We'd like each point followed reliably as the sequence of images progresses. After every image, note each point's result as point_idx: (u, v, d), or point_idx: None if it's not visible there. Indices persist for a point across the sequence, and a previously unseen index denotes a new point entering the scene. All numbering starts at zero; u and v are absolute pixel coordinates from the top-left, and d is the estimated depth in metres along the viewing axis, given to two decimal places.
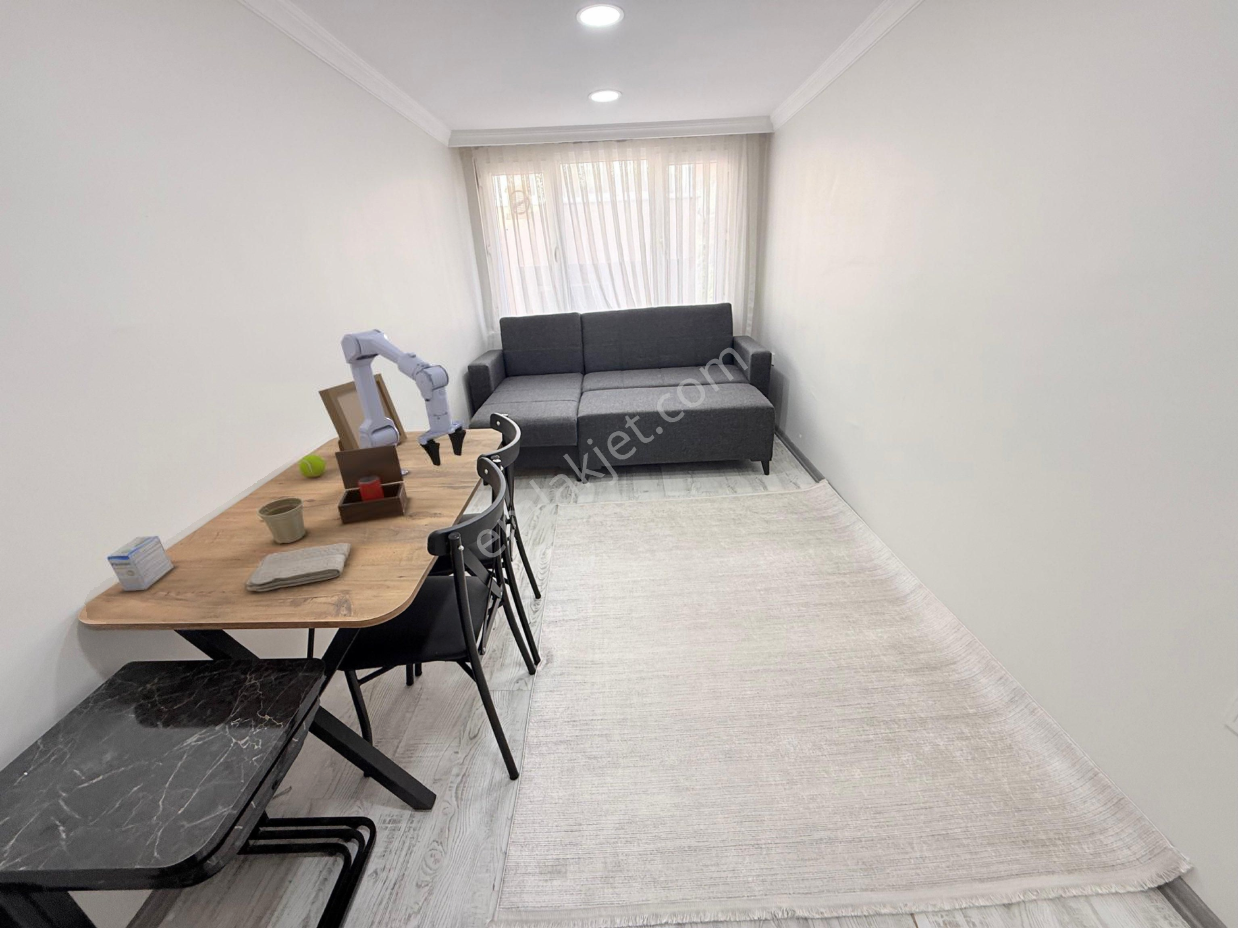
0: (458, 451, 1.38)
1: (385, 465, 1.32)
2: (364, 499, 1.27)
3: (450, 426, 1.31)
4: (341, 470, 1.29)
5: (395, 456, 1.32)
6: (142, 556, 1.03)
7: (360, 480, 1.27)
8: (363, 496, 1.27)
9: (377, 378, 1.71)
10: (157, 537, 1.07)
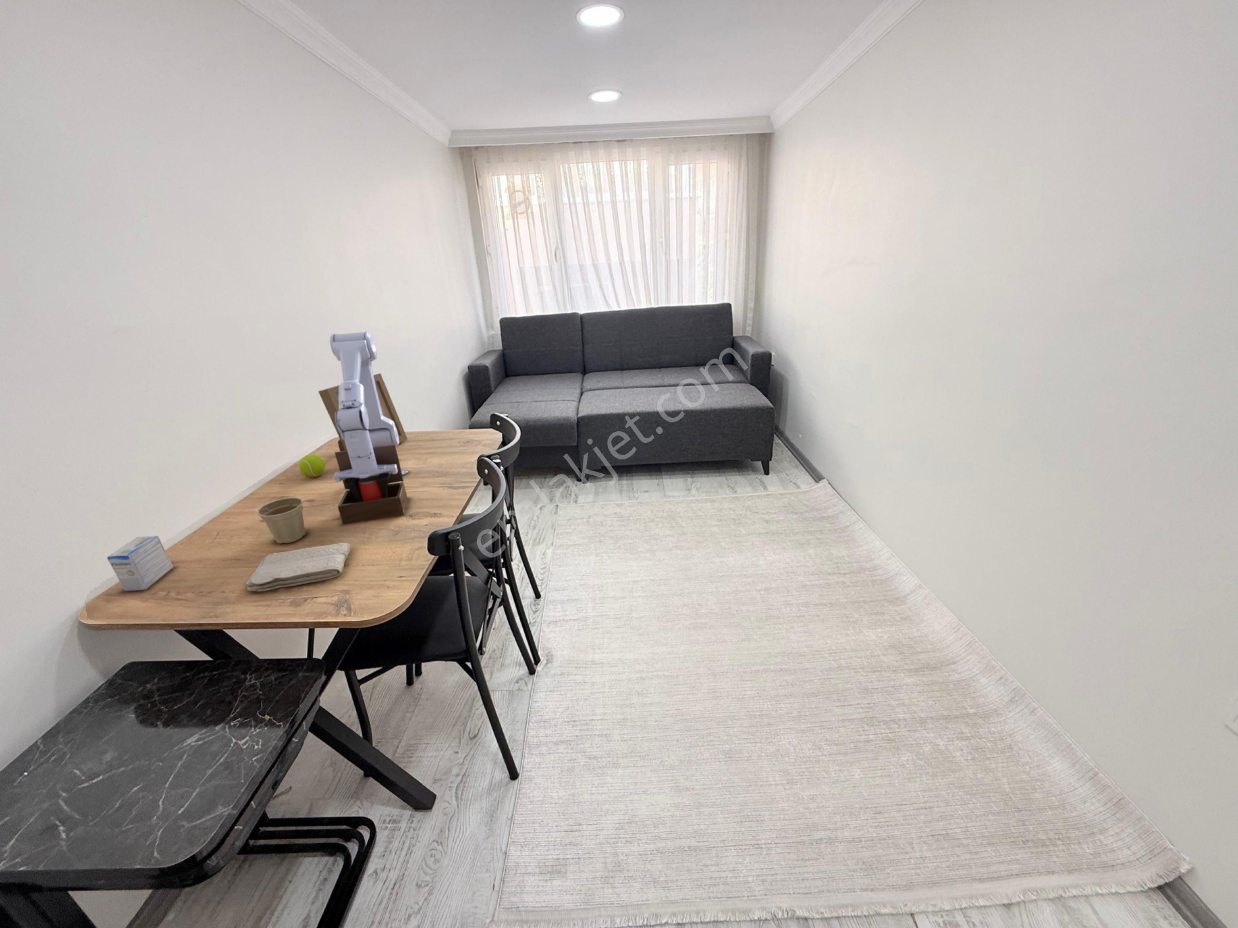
0: None
1: None
2: (364, 499, 1.27)
3: (365, 470, 1.24)
4: (341, 470, 1.29)
5: (395, 456, 1.32)
6: (142, 556, 1.03)
7: (360, 480, 1.27)
8: (363, 496, 1.27)
9: (377, 378, 1.71)
10: (157, 537, 1.07)
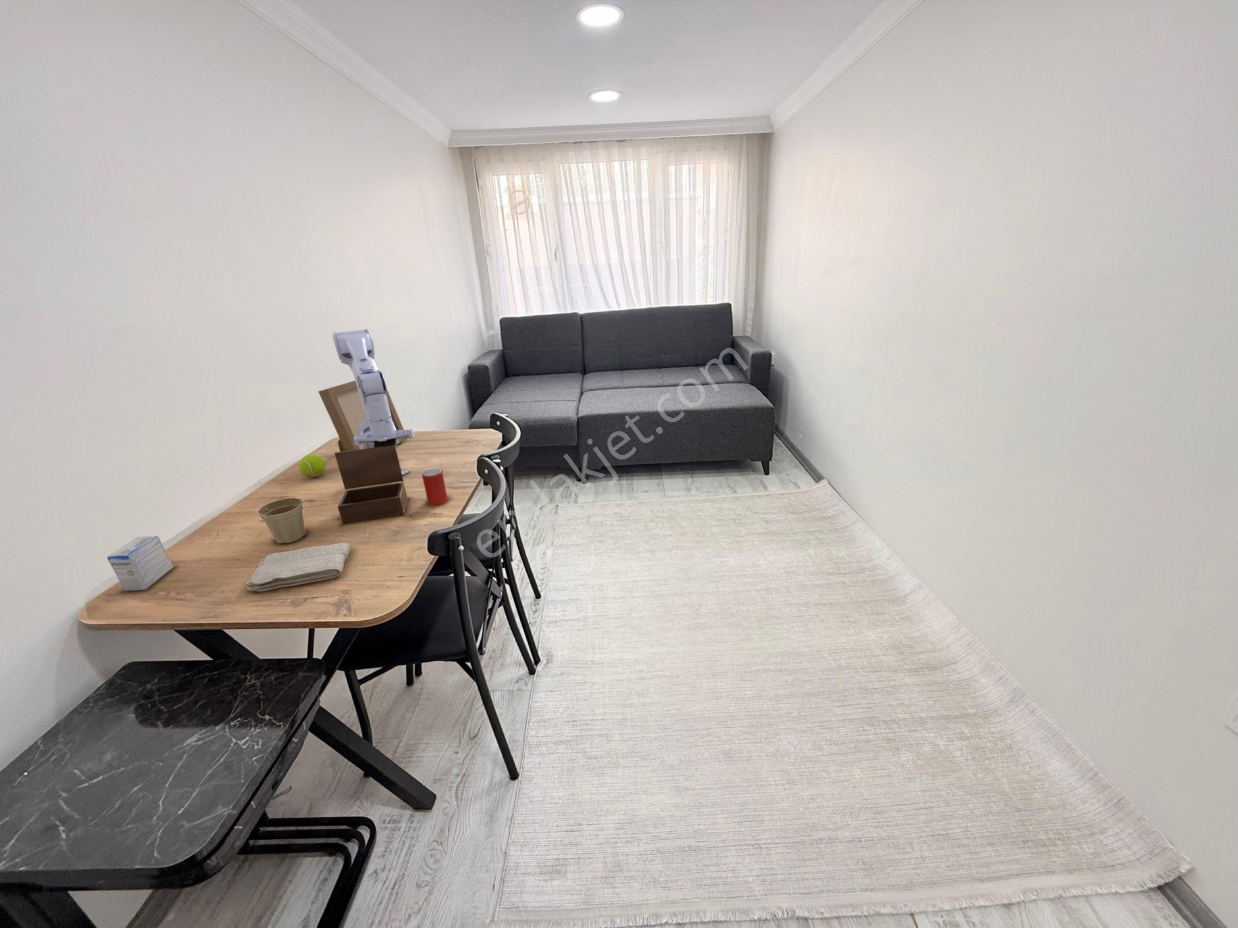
0: None
1: (385, 465, 1.32)
2: (428, 492, 1.32)
3: (384, 434, 1.29)
4: (341, 470, 1.29)
5: (395, 457, 1.32)
6: (142, 556, 1.03)
7: (424, 473, 1.31)
8: (427, 489, 1.31)
9: None
10: (157, 537, 1.07)
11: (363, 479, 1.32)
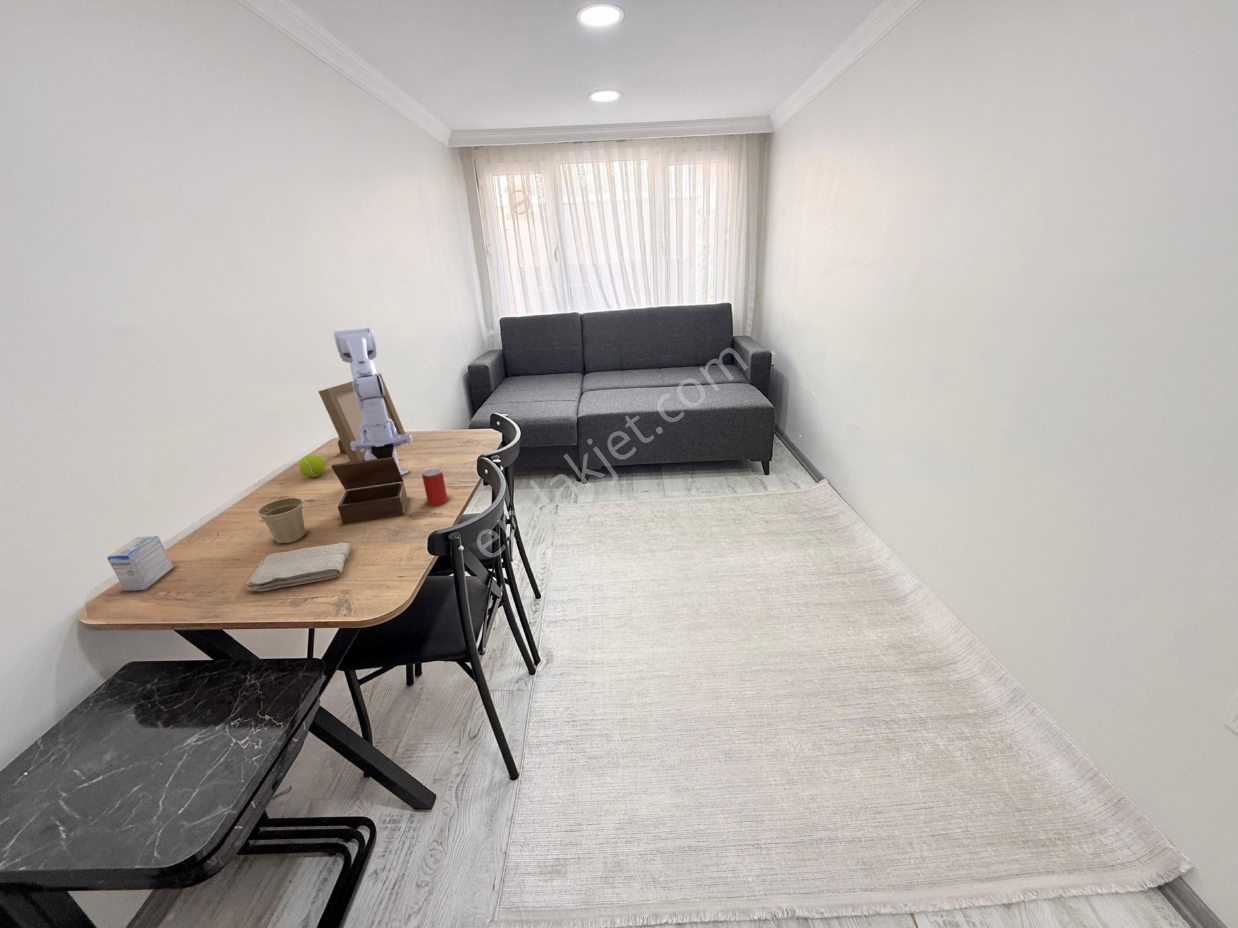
0: None
1: (384, 472, 1.30)
2: (428, 492, 1.32)
3: (381, 439, 1.26)
4: (339, 478, 1.27)
5: (394, 466, 1.29)
6: (142, 556, 1.03)
7: (424, 473, 1.31)
8: (427, 489, 1.31)
9: None
10: (157, 537, 1.07)
11: (363, 482, 1.31)
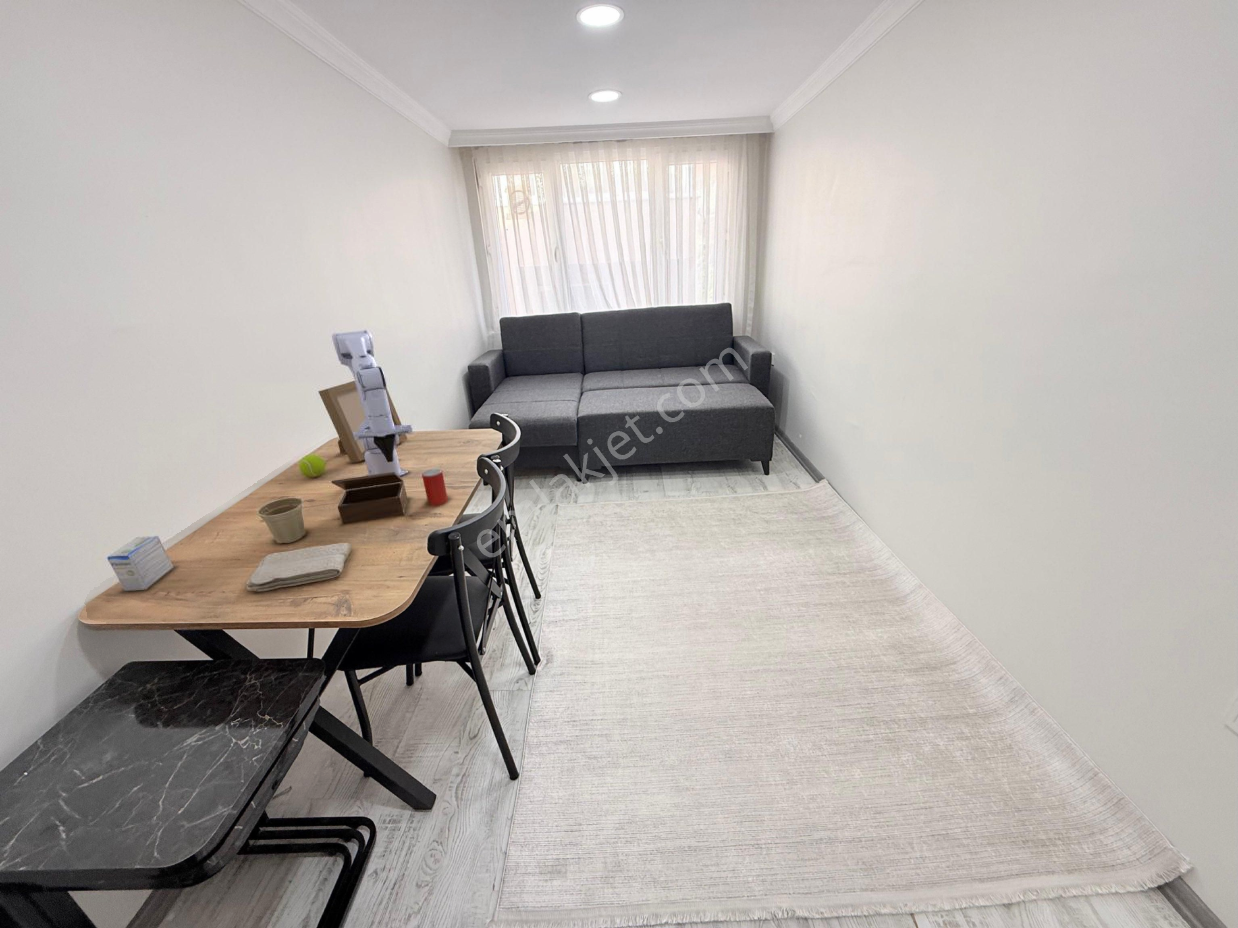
0: None
1: (384, 480, 1.29)
2: (428, 492, 1.32)
3: (383, 429, 1.30)
4: (340, 486, 1.26)
5: (395, 477, 1.28)
6: (142, 556, 1.03)
7: (424, 473, 1.31)
8: (427, 489, 1.31)
9: None
10: (157, 537, 1.07)
11: (363, 485, 1.31)
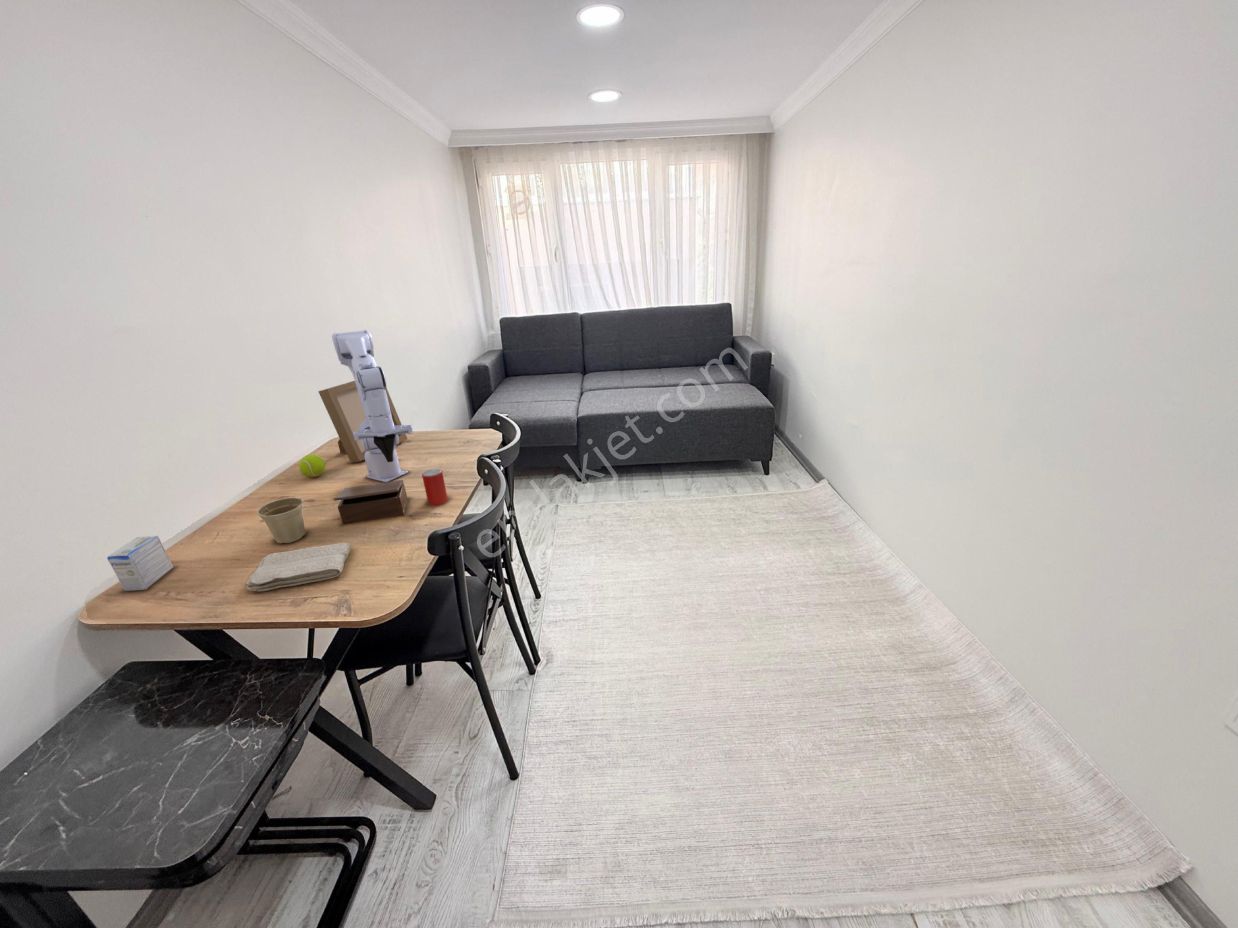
0: None
1: None
2: (428, 492, 1.32)
3: (383, 429, 1.30)
4: None
5: None
6: (142, 556, 1.03)
7: (424, 473, 1.31)
8: (427, 489, 1.31)
9: None
10: (157, 537, 1.07)
11: None
